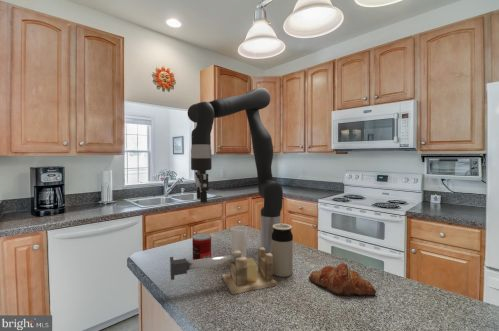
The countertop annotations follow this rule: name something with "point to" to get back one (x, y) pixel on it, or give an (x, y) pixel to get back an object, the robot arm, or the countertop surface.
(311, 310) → the countertop surface
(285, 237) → the travel mug
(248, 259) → the block
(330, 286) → the pastry
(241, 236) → the drinking glass
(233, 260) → the shaft
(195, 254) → the canned food
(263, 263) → the block
